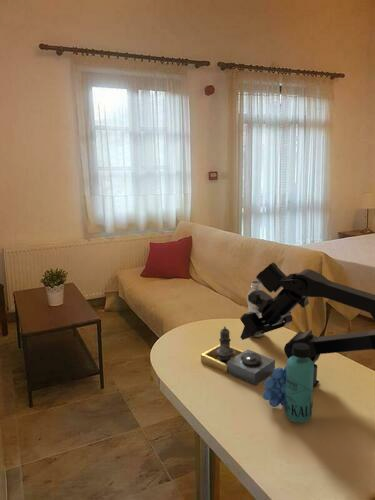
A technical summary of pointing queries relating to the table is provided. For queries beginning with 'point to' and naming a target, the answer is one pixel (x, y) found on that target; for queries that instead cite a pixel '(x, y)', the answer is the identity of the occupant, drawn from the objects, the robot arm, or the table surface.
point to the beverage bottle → (299, 384)
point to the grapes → (276, 387)
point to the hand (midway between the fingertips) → (251, 335)
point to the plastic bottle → (253, 308)
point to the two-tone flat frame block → (242, 365)
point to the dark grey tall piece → (224, 347)
